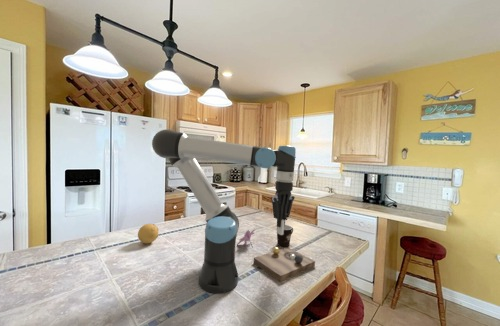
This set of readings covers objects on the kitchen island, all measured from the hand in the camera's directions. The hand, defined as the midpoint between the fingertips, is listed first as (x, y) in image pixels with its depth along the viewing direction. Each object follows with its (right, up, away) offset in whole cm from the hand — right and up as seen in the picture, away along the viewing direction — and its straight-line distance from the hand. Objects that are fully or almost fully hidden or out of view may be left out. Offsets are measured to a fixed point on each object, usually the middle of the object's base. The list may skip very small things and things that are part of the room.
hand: (280, 233), depth 94 cm
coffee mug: (+7, -15, +25) cm, 29 cm away
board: (+2, -15, +2) cm, 15 cm away
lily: (-15, -14, +21) cm, 29 cm away
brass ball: (-1, -10, +7) cm, 12 cm away
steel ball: (+7, -13, +6) cm, 16 cm away
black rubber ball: (+8, -11, 0) cm, 14 cm away
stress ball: (-67, -11, +18) cm, 70 cm away
